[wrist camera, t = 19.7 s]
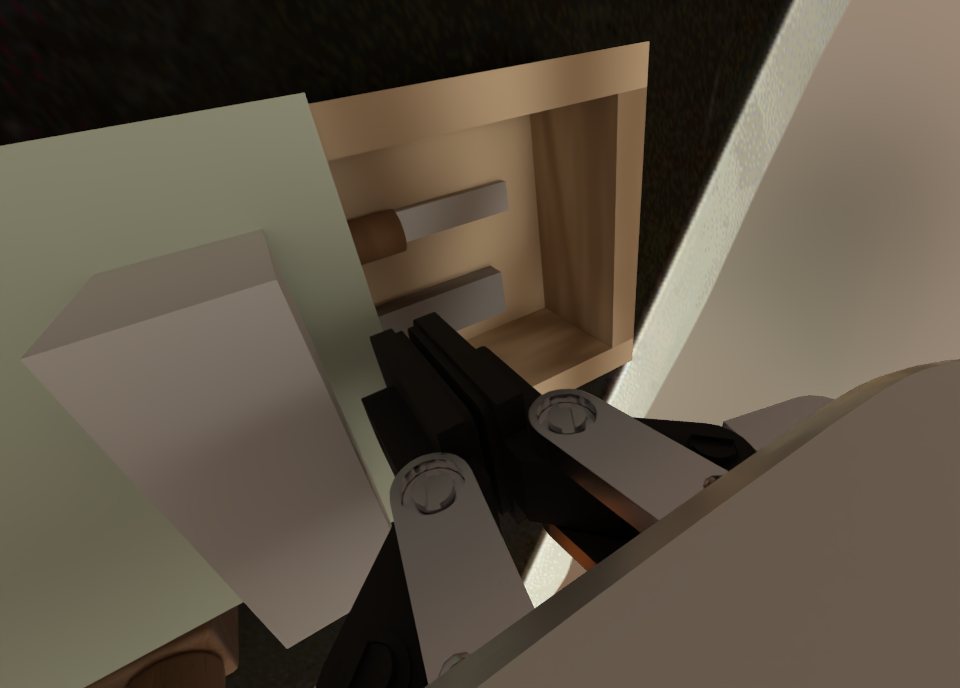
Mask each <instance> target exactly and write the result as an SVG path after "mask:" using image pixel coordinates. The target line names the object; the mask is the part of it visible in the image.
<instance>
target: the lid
mask: <svg viewBox="0 0 960 688" xmlns="http://www.w3.org/2000/svg"><path fill="white" fill-rule="evenodd" d="M380 332H383V330H382V327H381V324H380V321H379V318H378V315H377V312H376V308H375V305H374V302H373V299H372V296H371V293H370V290H369V287H368V284H367V281H366V278H365V275H364V272H363V269H362V266H361V263H360V260H359V257H358V254H357V251H356V248H355V245H354V242H353V238H352V235H351V232H350V229H349V226H348V223H347V220H346V217H345V214H344V211H343V208H342V205H341V202H340V199H339V196H338V193H337V190H336V187H335V184H334V181H333V178H332V175H331V172H330V169H329V165H328V162H327V159H326V156H325V153H324V150H323V147H322V144H321V141H320V138H319V135H318V132H317V129H316V126H315V123H314V120H313V117H312V114H311V111H310V108H309V105H308V102H307V99H306V96H305V93H299V94H294V95H288V96H282V97H277V98H271V99H265V100H260V101H254V102H248V103H242V104H237V105H231V106H225V107H220V108H214V109H208V110H203V111H197V112H191V113H185V114H180V115H174V116H168V117H163V118H157V119H151V120H146V121H140V122H134V123H128V124H123V125H117V126H111V127H106V128H100V129H94V130H88V131H83V132H77V133H71V134H66V135H60V136H54V137H49V138H43V139H37V140H31V141H26V142H20V143H14V144H9V145H3V146H0V688H84V687H86V686H88V685H90V684H92V683H93V682H95V681H97V680H99V679H101V678H103V677H105V676H106V675H108V674H110V673H112V672H114V671H116V670H118V669H120V668H121V667H123V666H125V665H127V664H129V663H131V662H133V661H134V660H136V659H138V658H140V657H142V656H144V655H146V654H147V653H149V652H151V651H153V650H155V649H157V648H159V647H160V646H162V645H164V644H166V643H168V642H170V641H172V640H173V639H175V638H177V637H179V636H181V635H183V634H185V633H187V632H188V631H190V630H192V629H194V628H196V627H198V626H200V625H201V624H203V623H205V622H207V621H209V620H211V619H213V618H214V617H216V616H218V615H220V614H222V613H224V612H226V611H227V610H229V609H231V608H233V607H235V606H237V605H239V604H241V603H242V602H244V603H245V604H246V605H247V606H248V607H249V608H250V609H251V610H252V611H253V613H254V614H255V615H256V616H257V617H258V618H259V619H260V620H261V621H262V622H263V623H264V624H265V626H266V627H267V628H268V629H269V630H270V631H271V632H272V633H273V634H274V635H275V636H276V637H277V639H278V640H279V641H280V642H281V643H282V644H283V645H284V646H285V647H286V648H287V649H288V648H289V647H291V646H293V645H295V644H296V643H298V642H300V641H301V640H303V639H305V638H306V637H308V636H310V635H312V634H313V633H315V632H317V631H318V630H320V629H322V628H323V627H325V626H327V625H328V624H330V623H332V622H334V621H335V620H337V619H339V618H340V617H342V616H344V615H345V614H347V613H349V612H350V610H351V608H352V606H353V604H354V602H355V600H356V598H357V596H358V594H359V592H360V590H361V588H362V586H363V584H364V582H365V580H366V578H367V576H368V574H369V572H370V570H371V568H372V566H373V563H374V561H375V559H376V557H377V555H378V553H379V551H380V549H381V547H382V545H383V543H384V541H385V539H386V537H387V535H388V533H389V531H390V529H391V527H392V525H391V522H393V521H394V520H393V515H392V510H391V506H390V488H391V485H392V482H393V480H394V478H395V476H394V474H393V472H392V470H391V468H390V466H389V464H388V462H387V459H386V457H385V455H384V453H383V451H382V449H381V447H380V444H379V442H378V440H377V437H376V435H375V433H374V430H373V428H372V426H371V423H370V421H369V418H368V416H367V413H366V411H365V408H364V406H363V403H362V401H361V398H364V397H366V396H368V395H371V394H373V393H375V392H377V391H380V390H382V389H384V388H387V387H386V384H385V381H384V378H383V376H382V373H381V370H380V367H379V364H378V361H377V359H376V356H375V353H374V350H373V347H372V344H371V341H370V336H372V335H375V334H378V333H380Z"/></svg>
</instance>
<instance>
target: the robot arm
mask: <svg viewBox="0 0 960 688" xmlns="http://www.w3.org/2000/svg"><path fill="white" fill-rule="evenodd" d="M408 335H409V338H410V339H409V338H408V337H407V336H406V334H405V333H404V332H403V331H399V332H397V333H395V332H394V330H393V329H392V328H391V329H388V330H385V331H383V332H380V333H378V334H375V335H372V336H370V341H371V344H372V347H373V350H374V353H375V356H376V359H377V361H378V364H379V367H380V370H381V373H382V376H383V378H384V381H385V384H386V387H387V388H384V389H382V390H380V391H377V392H375V393H373V394H371V395H368V396H366V397H364V398H361V401H362V403H363V406H364V408H365V411H366V413H367V416H368V418H369V421H370V423H371V426H372V428H373V430H374V433H375V435H376V437H377V440H378V442H379V444H380V447H381V449H382V451H383V453H384V455H385V457H386V459H387V462H388V464H389V466H390V468H391V470H392V472H393V474H394V476H395V478H394V480H393V482H392V485H391V488H390V506H391V510H392V515H393V520H394V523H393V525H392V527H391V529H390V531H389V533H388V535H387V537H386V539H385V541H384V543H383V545H382V547H381V549H380V551H379V553H378V555H377V557H376V559H375V561H374V563H373V566H372V568H371V570H370V572H369V574H368V576H367V578H366V580H365V582H364V584H363V586H362V588H361V590H360V592H359V594H358V596H357V598H356V600H355V602H354V604H353V606H352V608H351V610H350V612H349V614H348V616H347V618H346V620H345V622H344V624H343V627H342V629H341V631H340V633H339V635H338V637H337V639H336V641H335V643H334V645H333V647H332V649H331V651H330V653H329V655H328V657H327V659H326V661H325V663H324V665H323V668H322V671H321V673H320V676H319V679H318V682H317V684H316V686H315V687H314V688H960V359H959V360H947V361H941V362H935V363H930V364H924V365H919V366H914V367H910V368H906V369H903V370H900V371H896V372H893V373H890V374H887V375H884V376H881V377H878V378H875V379H873V380H871V381H869V382H866V383H864V384H862V385H859V386H857V387H855V388H854V389H852V390H850V391H848V392H847V393H845V394H843V395H842V396H840V397H838V398H836V399H831V398H827V397H822V396H811V395H809V396H802V397H797V398H794V399H791V400H788V401H785V402H782V403H779V404H776V405H773V406H770V407H767V408H764V409H760V410H757V411H754V412H751V413H748V414H745V415H742V416H739V417H736V418H733V419H730V420H727V421H724V422H723V426H722V427H721V426H718V425H712V424H706V423H695V422H683V421H669V420H657V419H646V418H633V417H631V416H629V415H627V414H625V413H624V412H622V411H620V410H618V409H616V408H615V407H613V406H611V405H609V404H608V403H606V402H604V401H602V400H600V399H599V398H597V397H595V396H593V395H591V394H589V393H587V392H584V391H582V390H576V389H557V390H553V391H549V392H547V393H545V394H543V395H542V394H540V393H539V392H538V391H537V390H536V389H535V388H534V387H532V386H531V385H530V384H529V383H528V382H527V381H525V380H524V379H523V378H522V377H521V376H520V375H519V374H517V373H516V372H515V371H514V370H513V369H512V368H510V367H509V366H508V365H507V364H506V363H505V362H504V361H502V360H501V359H500V358H499V357H498V356H497V355H495V354H494V353H493V352H492V351H491V350H490V349H489V348H487V347H485V346H481V347H479V348H476V349H475V348H474V347H473V346H472V345H471V344H470V343H469V342H467V341H466V340H465V339H464V338H463V337H462V336H461V335H460V334H459V333H458V332H457V331H455V330H454V329H453V328H452V327H451V326H450V325H449V324H448V323H447V322H446V321H444V320H443V319H442V318H441V317H440V316H439V315H438V314H437V313H436V312H432V313H429V314H427V315H424V316H422V317H419V318H417V319H414V320H413V326H412V327H409V328H408ZM497 510H498V512H499V513H500V514H501V515H504V514H506V513H508V512H509V513H510V515H511V516H512V517H513V519H514V520H515V522H516V523H517V524H519V523H521V522H522V521H524V520H526V519H527V518H528V520H529V521H533V522H539V523H543V526H544V529H545V530H546V531H547V533H548V534H549V535H550V536H551V537H552V538H553V539H554V540H555V541H556V542H557V543H558V544H559V545H560V546H561V547H562V548H563V549H564V550H565V551H566V552H568V553H569V554H570V555H571V556H572V557H573V558H574V559H575V560H576V561H577V562H578V563H579V564H580V565H581V566H582V567H583V568H584V569H585V570H586V571H587V572H586V573H584V574H583V575H581V576H580V577H578V578H577V579H576V580H574V581H573V582H572V583H570V584H569V585H567V586H566V587H564V588H563V589H562V590H560V591H559V592H557V593H556V594H555V595H553V596H552V597H550V598H549V599H548V600H546V601H545V602H543V603H542V604H541V605H539V606H538V607H536V608H535V609H534V606H533V604H532V602H531V600H530V598H529V595H528V593H527V591H526V589H525V587H524V584H523V582H522V580H521V578H520V575H519V573H518V571H517V569H516V567H515V564H514V562H513V560H512V558H511V556H510V553H509V551H508V549H507V547H506V545H505V542H504V540H503V535H502V531H501V526H500V521H499V516H498V512H497Z"/></svg>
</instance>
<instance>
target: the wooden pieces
mask: <svg viewBox="0 0 960 688" xmlns="http://www.w3.org/2000/svg"><path fill="white" fill-rule="evenodd" d="M238 663H239V645H238V605H237V606H235V607H233V608H231V609H229V610H227V611H226V612H224V613H222V614H220V615H218V616H216V617H214V618H213V619H211V620H209V621H207V622H205V623H203V624H201V625H200V626H198V627H196V628H194V629H192V630H190V631H188V632H187V633H185V634H183V635H181V636H179V637H177V638H175V639H173V640H172V641H170V642H168V643H166V644H164V645H162V646H160V647H159V648H157V649H155V650H153V651H151V652H149V653H147V654H146V655H144V656H142V657H140V658H138V659H136V660H134V661H133V662H131V663H129V664H127V665H125V666H123V667H121V668H120V669H118V670H116V671H114V672H112V673H110V674H108V675H106V676H105V677H103V678H101V679H99V680H97V681H95V682H93V683H92V684H90V685H88V686H86V687H84V688H225V676H227V675H228V674H230V673H232V672H234V671H235V670H236V669H237V667H238Z"/></svg>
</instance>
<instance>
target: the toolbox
mask: <svg viewBox="0 0 960 688" xmlns="http://www.w3.org/2000/svg"><path fill="white" fill-rule="evenodd" d="M648 58H649V41H648V42H642V43H637V44H631V45H626V46H620V47H615V48H609V49H604V50H598V51H593V52H587V53H582V54H576V55H571V56H565V57H560V58H554V59H549V60H543V61H538V62H532V63H527V64H522V65H516V66H511V67H505V68H500V69H495V70H489V71H484V72H478V73H473V74H467V75H462V76H457V77H451V78H446V79H440V80H435V81H429V82H424V83H419V84H413V85H408V86H402V87H397V88H392V89H386V90H381V91H375V92H370V93H364V94H359V95H354V96H348V97H343V98H337V99H332V100H326V101H321V102H316V103H310V104H308V105H309V108H310V111H311V114H312V117H313V120H314V123H315V126H316V129H317V132H318V135H319V138H320V141H321V144H322V147H323V150H324V153H325V156H326V159H327V162H328V165H329V169H330V172H331V175H332V178H333V181H334V184H335V187H336V190H337V193H338V196H339V199H340V202H341V205H342V208H343V211H344V214H345V217H346V220H347V223H348V226H349V229H350V232H351V235H352V238H353V242H354V245H355V248H356V251H357V254H358V257H359V260H360V263H361V266H362V269H363V272H364V275H365V278H366V281H367V284H368V287H369V290H370V293H371V296H372V299H373V302H374V305H375V308H376V312H377V315H378V318H379V321H380V324H381V327H382V330H383V331H385V330H388V329H391V328H392V329H393V330H394V332H395V333H397V332H399V331H403V332H404V333H405V334H406V336H407V337H408V338H409V335H408V328H409V327H412V326H413V320H414V319H417V318H419V317H422V316H424V315H427V314H429V313H432V312H436V313H437V314H438V315H439V316H440V317H441V318H442V319H443V320H444V321H446V322H447V323H448V324H449V325H450V326H451V327H452V328H453V329H454V330H455V331H457V332H458V333H459V334H460V335H461V336H462V337H463V338H464V339H465V340H466V341H467V342H469V343H470V344H471V345H472V346H473V347H474V348H475V349H476V348H479V347H481V346H485V347H487V348H489V349H490V350H491V351H492V352H493V353H494V354H495V355H497V356H498V357H499V358H500V359H501V360H502V361H504V362H505V363H506V364H507V365H508V366H509V367H510V368H512V369H513V370H514V371H515V372H516V373H517V374H519V375H520V376H521V377H522V378H523V379H524V380H525V381H527V382H528V383H529V384H530V385H531V386H532V387H534V388H535V389H536V390H537V391H538V392H539V393H540V394H542V395H543V394H545V393H547V392H549V391H553V390H557V389H575V388H577V387H579V386H581V385H583V384H585V383H587V382H589V381H591V380H593V379H595V378H597V377H599V376H601V375H603V374H605V373H607V372H609V371H611V370H613V369H615V368H617V367H619V366H621V365H623V364H625V363H627V362H629V361H631V360H632V351H633V333H634V314H635V296H636V278H637V259H638V241H639V223H640V204H641V186H642V168H643V149H644V131H645V113H646V94H647V76H648ZM409 339H410V338H409Z"/></svg>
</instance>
